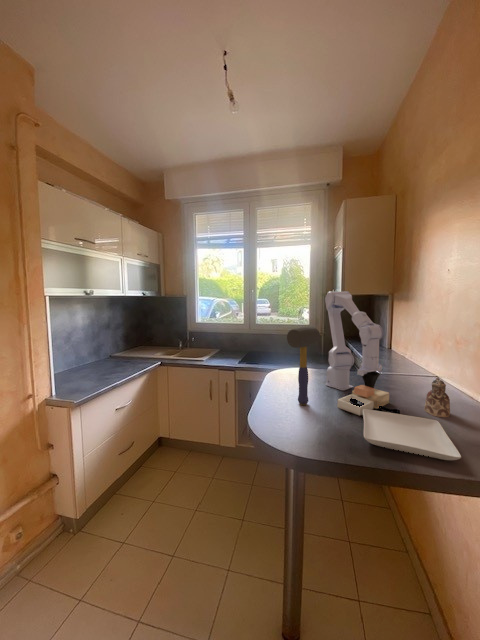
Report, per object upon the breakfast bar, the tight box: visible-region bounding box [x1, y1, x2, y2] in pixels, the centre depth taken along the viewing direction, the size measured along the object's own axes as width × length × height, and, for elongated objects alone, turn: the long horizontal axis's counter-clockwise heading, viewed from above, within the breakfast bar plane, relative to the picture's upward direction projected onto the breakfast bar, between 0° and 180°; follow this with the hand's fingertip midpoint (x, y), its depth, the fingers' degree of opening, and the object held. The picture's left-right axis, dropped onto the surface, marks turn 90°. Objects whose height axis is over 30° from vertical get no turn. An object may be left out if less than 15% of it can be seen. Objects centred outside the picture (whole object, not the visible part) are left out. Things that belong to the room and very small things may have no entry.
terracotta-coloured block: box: [353, 384, 375, 397], centre depth 98 cm, size 5×5×2 cm
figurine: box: [423, 377, 451, 418], centre depth 90 cm, size 7×7×12 cm
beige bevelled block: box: [351, 388, 390, 409], centre depth 101 cm, size 10×9×4 cm
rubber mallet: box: [286, 326, 321, 406], centre depth 98 cm, size 12×8×30 cm, turn 128°
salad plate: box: [362, 409, 462, 461], centre depth 74 cm, size 21×21×3 cm
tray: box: [336, 393, 374, 417], centre depth 95 cm, size 9×9×3 cm
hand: (369, 390), depth 100 cm, fingers closed, pressing on terracotta-coloured block
